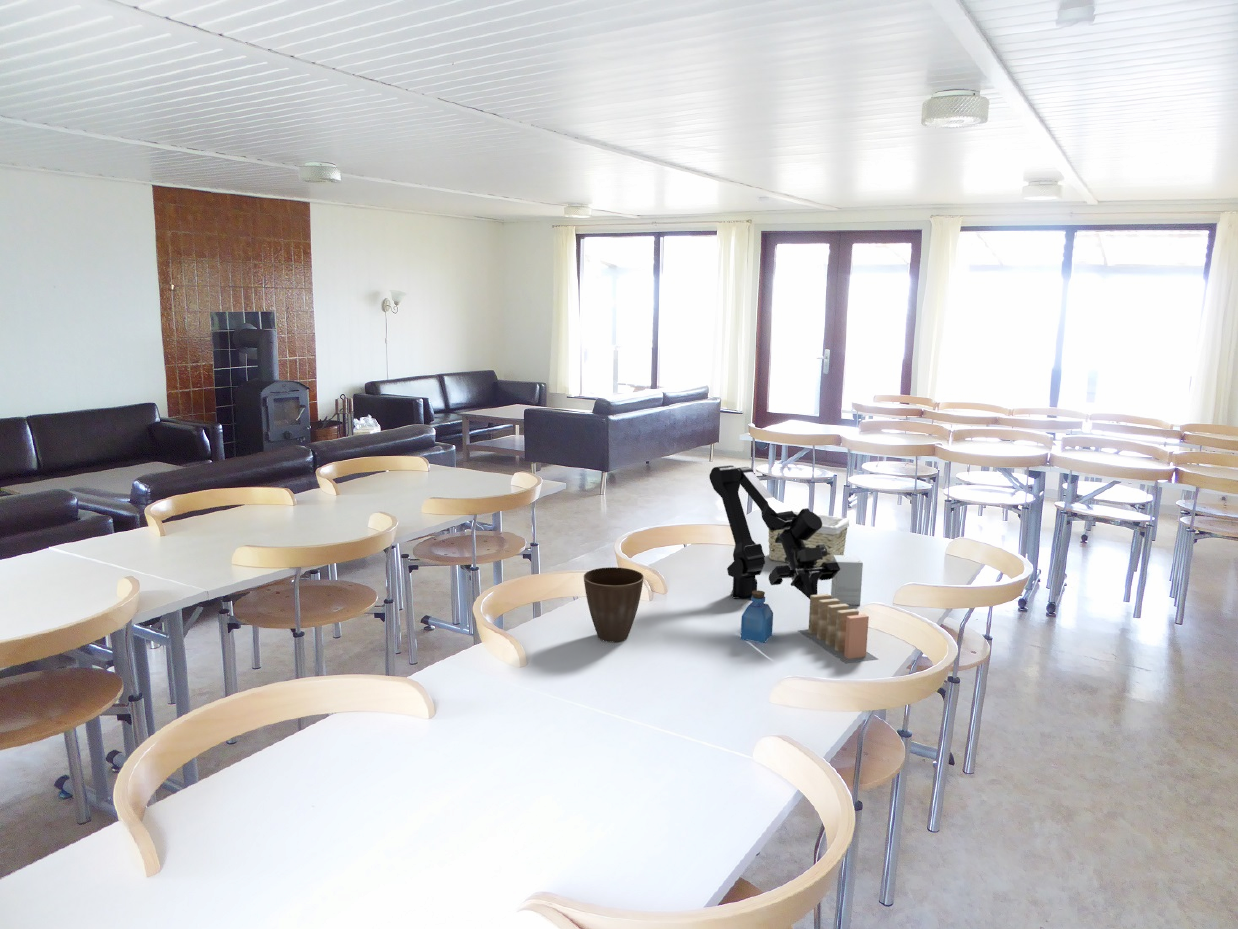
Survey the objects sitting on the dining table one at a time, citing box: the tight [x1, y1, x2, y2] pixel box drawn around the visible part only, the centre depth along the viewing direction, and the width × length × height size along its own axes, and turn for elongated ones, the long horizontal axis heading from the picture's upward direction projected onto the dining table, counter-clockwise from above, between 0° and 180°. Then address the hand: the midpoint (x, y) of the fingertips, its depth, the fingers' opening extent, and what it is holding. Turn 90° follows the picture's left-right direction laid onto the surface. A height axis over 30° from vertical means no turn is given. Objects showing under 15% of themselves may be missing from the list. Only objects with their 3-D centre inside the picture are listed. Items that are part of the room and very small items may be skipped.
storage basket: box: [768, 510, 850, 568], centre depth 283 cm, size 24×16×15 cm
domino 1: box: [807, 593, 832, 635], centre depth 216 cm, size 2×5×10 cm, turn 109°
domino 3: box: [826, 604, 850, 646], centre depth 208 cm, size 2×5×10 cm, turn 109°
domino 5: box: [844, 613, 870, 659], centre depth 201 cm, size 2×5×10 cm, turn 109°
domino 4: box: [835, 608, 860, 653], centre depth 205 cm, size 2×5×10 cm, turn 109°
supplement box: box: [830, 555, 864, 606], centre depth 242 cm, size 7×7×13 cm
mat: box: [797, 628, 879, 664], centre depth 209 cm, size 22×9×1 cm, turn 19°
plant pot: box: [583, 566, 645, 643], centre depth 211 cm, size 15×15×16 cm
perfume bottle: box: [740, 589, 774, 644], centre depth 213 cm, size 6×6×12 cm
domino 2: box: [817, 598, 840, 641], centre depth 212 cm, size 2×5×10 cm, turn 109°
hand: (815, 601), depth 218 cm, fingers closed
